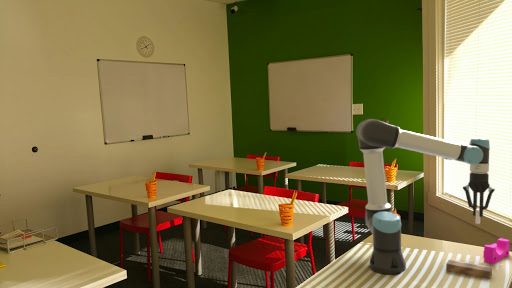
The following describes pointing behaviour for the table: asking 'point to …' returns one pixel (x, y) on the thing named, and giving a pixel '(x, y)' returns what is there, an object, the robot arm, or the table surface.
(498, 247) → the toy block
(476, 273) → the walnut plank
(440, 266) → the table surface
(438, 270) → the table surface
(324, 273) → the table surface
